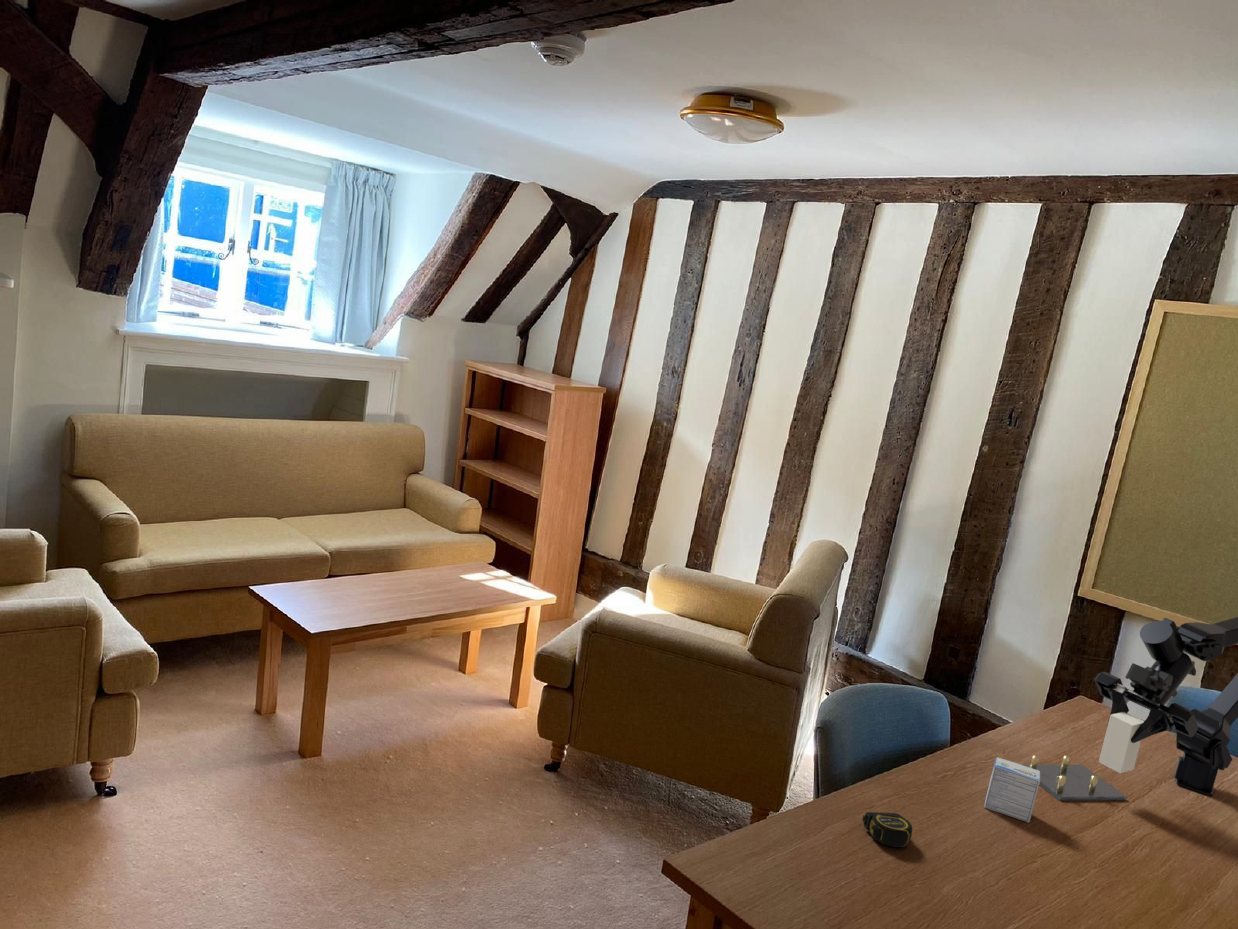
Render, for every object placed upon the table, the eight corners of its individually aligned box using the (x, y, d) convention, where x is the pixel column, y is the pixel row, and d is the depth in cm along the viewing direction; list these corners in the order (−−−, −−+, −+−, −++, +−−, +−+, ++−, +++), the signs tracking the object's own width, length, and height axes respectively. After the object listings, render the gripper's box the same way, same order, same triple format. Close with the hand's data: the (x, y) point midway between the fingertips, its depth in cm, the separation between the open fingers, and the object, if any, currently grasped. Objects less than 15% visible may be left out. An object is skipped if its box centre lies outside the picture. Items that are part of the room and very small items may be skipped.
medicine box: (1030, 813, 176) (1041, 770, 175) (1029, 824, 172) (1040, 780, 171) (985, 798, 180) (996, 756, 178) (983, 808, 176) (994, 765, 174)
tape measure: (897, 829, 164) (901, 809, 163) (916, 853, 157) (920, 832, 156) (860, 827, 162) (864, 807, 161) (877, 851, 156) (882, 831, 155)
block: (1111, 758, 190) (1123, 711, 188) (1133, 769, 186) (1145, 722, 184) (1098, 762, 187) (1110, 714, 186) (1120, 773, 184) (1132, 725, 182)
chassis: (1081, 768, 200) (1085, 751, 199) (1125, 800, 188) (1130, 782, 188) (1017, 768, 195) (1022, 751, 194) (1059, 800, 183) (1064, 782, 183)
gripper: (1110, 633, 192) (1065, 690, 188) (1205, 672, 177) (1158, 735, 173) (1123, 665, 198) (1079, 722, 194) (1217, 706, 182) (1171, 768, 179)
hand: (1119, 735), depth 185 cm, fingers closed on block, 4 cm apart
